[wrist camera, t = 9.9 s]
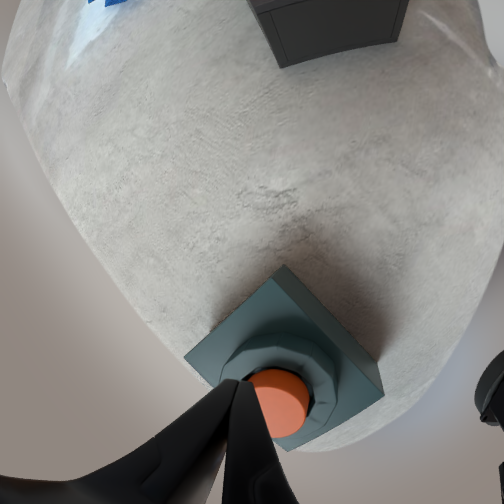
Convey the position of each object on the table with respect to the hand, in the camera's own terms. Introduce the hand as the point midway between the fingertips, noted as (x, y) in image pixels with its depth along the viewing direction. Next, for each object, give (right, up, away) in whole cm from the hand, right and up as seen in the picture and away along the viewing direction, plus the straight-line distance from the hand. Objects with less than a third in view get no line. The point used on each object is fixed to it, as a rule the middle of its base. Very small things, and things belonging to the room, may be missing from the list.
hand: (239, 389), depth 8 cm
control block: (+3, -3, +11) cm, 12 cm away
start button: (+2, -4, +6) cm, 7 cm away
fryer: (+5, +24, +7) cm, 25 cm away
